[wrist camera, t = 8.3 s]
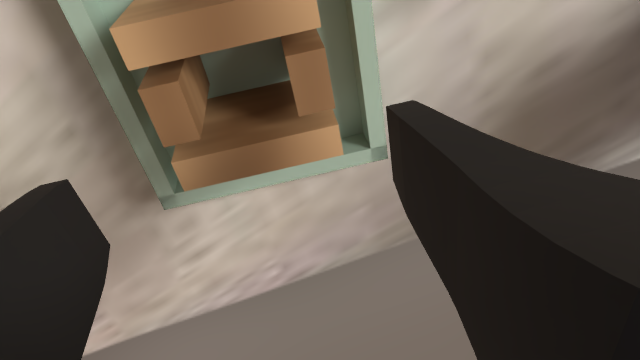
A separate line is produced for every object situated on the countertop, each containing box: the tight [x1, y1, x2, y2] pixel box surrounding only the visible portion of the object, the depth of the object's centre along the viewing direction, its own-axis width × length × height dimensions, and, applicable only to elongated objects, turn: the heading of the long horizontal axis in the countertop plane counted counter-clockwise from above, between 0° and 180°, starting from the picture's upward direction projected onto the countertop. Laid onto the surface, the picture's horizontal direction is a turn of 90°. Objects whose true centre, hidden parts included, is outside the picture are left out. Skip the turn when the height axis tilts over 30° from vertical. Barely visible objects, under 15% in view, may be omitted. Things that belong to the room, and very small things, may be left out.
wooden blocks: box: [109, 0, 344, 192], centre depth 15 cm, size 6×7×4 cm
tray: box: [57, 0, 388, 210], centre depth 17 cm, size 10×11×2 cm
